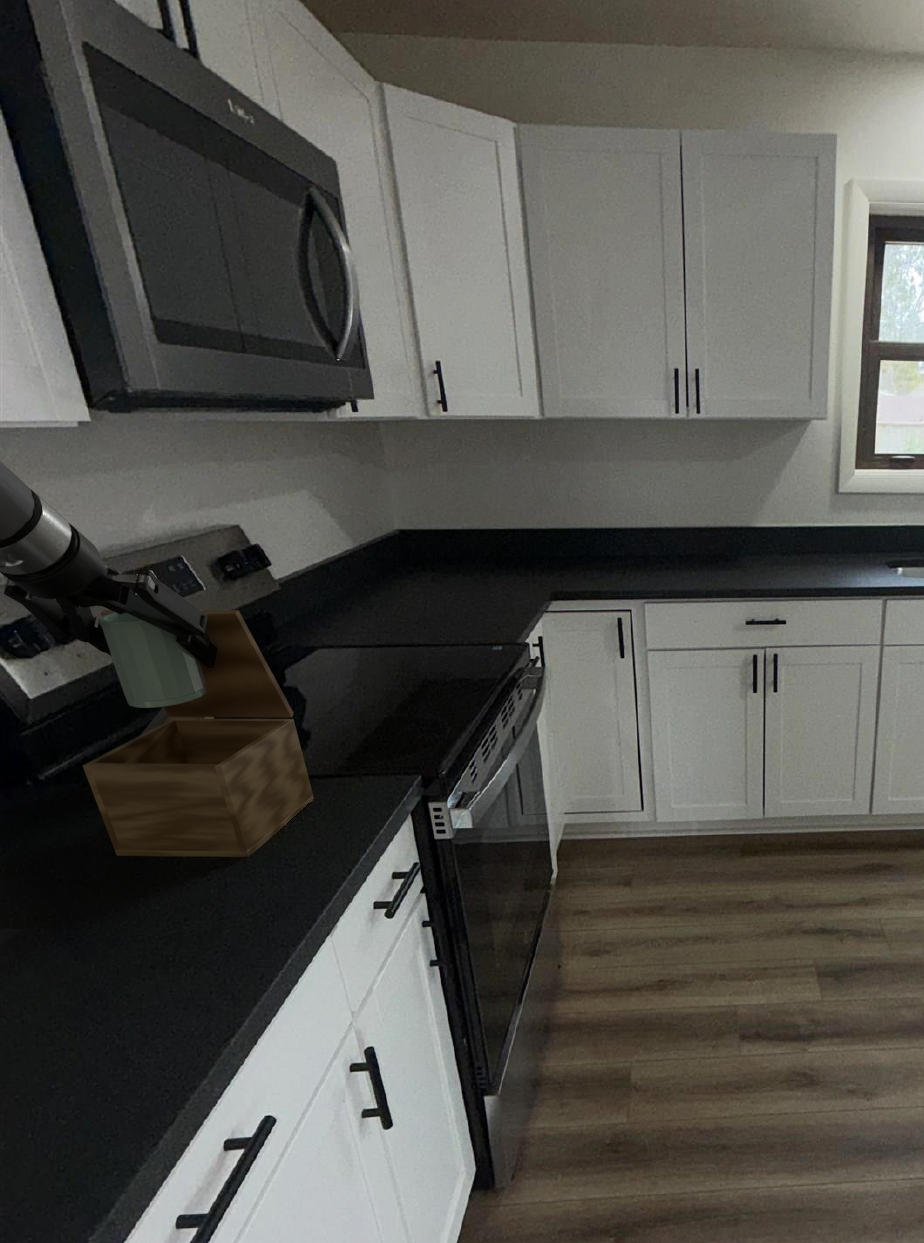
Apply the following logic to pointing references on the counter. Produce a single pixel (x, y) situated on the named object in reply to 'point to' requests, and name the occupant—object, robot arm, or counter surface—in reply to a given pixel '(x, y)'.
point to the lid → (234, 675)
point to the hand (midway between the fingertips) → (174, 659)
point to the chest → (201, 787)
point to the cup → (151, 663)
